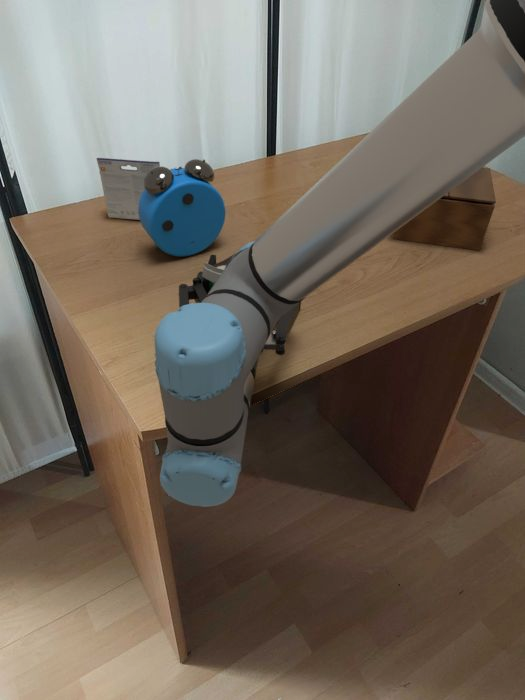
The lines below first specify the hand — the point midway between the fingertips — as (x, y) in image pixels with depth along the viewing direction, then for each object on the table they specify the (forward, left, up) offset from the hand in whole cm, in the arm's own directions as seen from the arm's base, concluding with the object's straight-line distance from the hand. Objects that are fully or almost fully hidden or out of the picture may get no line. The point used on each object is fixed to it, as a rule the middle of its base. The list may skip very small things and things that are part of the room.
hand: (247, 265), depth 78 cm
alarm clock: (+11, -14, -6) cm, 19 cm away
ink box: (+21, -24, -6) cm, 32 cm away
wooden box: (-34, -24, -6) cm, 42 cm away
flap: (-37, -23, +3) cm, 44 cm away
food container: (-1, +4, -6) cm, 7 cm away
